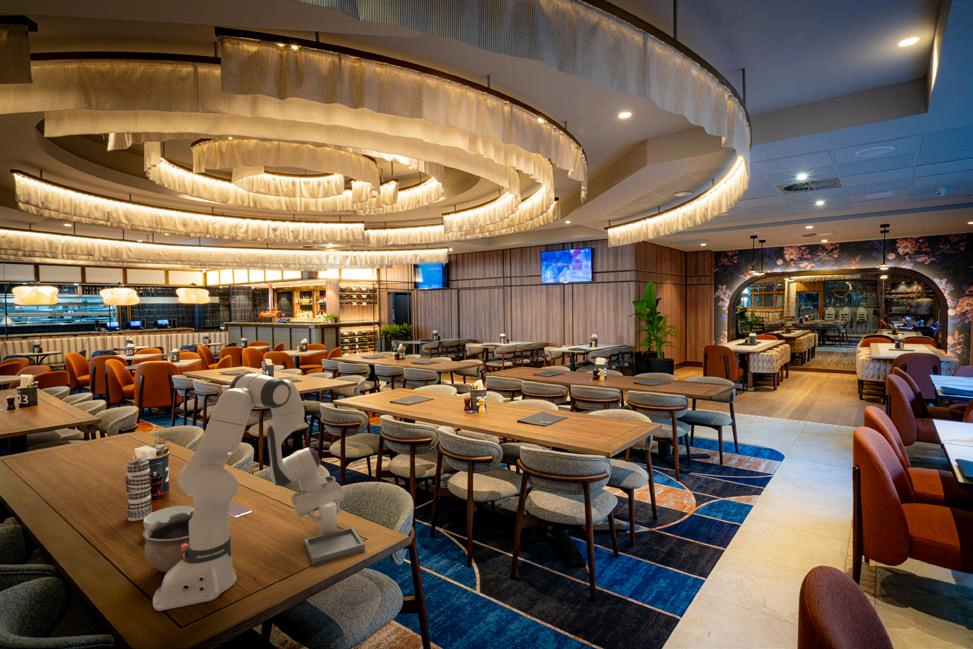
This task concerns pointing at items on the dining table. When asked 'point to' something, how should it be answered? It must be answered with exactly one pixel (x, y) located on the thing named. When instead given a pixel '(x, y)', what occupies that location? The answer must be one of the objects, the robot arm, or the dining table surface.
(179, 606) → the robot arm
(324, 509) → the cream capsule shape
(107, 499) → the dining table surface
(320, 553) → the serving tray
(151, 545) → the ceramic bowl
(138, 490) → the decorative candle
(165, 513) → the cereal bowl
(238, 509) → the mobile phone
